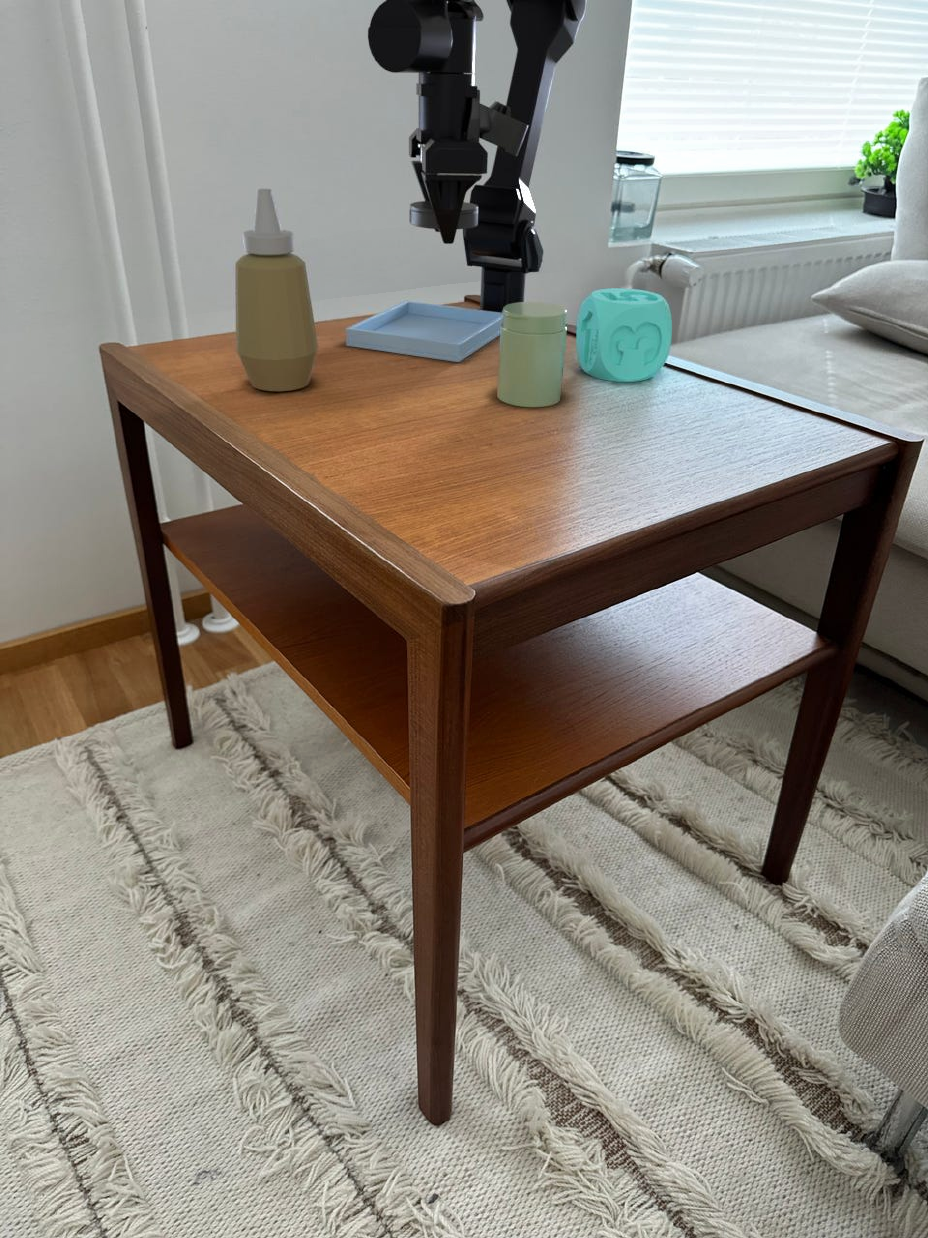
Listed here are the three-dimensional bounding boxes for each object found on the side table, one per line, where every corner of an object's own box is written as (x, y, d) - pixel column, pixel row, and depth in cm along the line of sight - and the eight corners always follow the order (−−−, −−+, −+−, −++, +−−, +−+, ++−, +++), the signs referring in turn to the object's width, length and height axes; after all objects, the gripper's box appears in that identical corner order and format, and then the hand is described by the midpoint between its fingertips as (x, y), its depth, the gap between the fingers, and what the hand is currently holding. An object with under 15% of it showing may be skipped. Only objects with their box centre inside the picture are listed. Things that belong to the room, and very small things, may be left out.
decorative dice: (572, 361, 101) (580, 287, 97) (640, 360, 102) (649, 287, 98) (594, 383, 94) (603, 305, 90) (665, 381, 96) (677, 304, 91)
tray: (406, 316, 117) (406, 300, 116) (508, 329, 112) (509, 313, 111) (346, 345, 104) (345, 328, 103) (458, 362, 99) (459, 344, 98)
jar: (509, 383, 93) (514, 298, 89) (568, 392, 91) (576, 306, 87) (487, 401, 88) (491, 311, 84) (549, 411, 86) (557, 320, 82)
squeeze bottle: (304, 400, 87) (290, 197, 77) (226, 392, 88) (203, 192, 79) (331, 376, 94) (321, 186, 84) (258, 369, 95) (240, 182, 85)
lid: (412, 229, 95) (412, 209, 94) (406, 218, 101) (406, 200, 100) (482, 229, 96) (483, 210, 95) (472, 218, 102) (472, 200, 101)
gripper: (543, 77, 84) (532, 253, 93) (507, 73, 100) (500, 224, 108) (426, 74, 83) (425, 253, 91) (408, 70, 98) (408, 223, 107)
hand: (444, 237), depth 99 cm, fingers closed on lid, 7 cm apart
